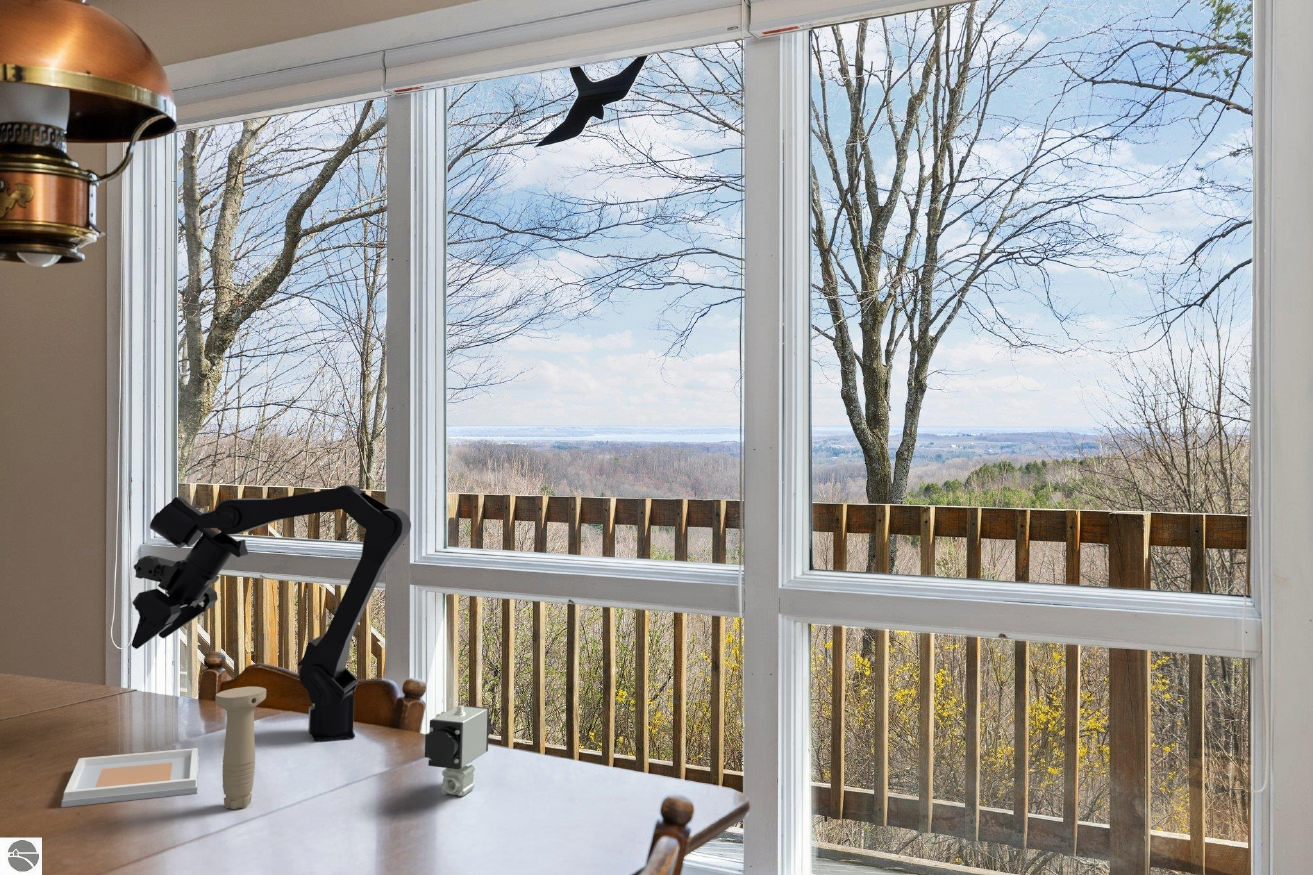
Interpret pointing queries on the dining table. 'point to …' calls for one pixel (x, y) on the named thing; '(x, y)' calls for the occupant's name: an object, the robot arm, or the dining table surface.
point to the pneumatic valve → (458, 745)
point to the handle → (239, 743)
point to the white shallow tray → (132, 777)
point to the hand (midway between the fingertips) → (148, 641)
